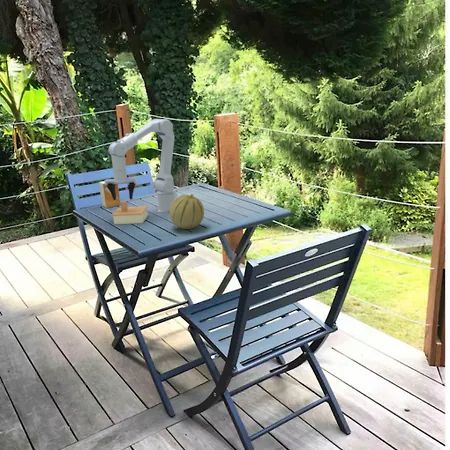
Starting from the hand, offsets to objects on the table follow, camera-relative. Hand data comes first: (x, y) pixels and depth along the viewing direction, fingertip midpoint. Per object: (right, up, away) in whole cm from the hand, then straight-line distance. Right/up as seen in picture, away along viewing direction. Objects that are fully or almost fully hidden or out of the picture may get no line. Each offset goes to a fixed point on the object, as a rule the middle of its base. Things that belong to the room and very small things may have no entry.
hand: (123, 199), depth 212 cm
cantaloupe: (+31, -13, -13) cm, 36 cm away
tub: (+3, -10, +3) cm, 11 cm away
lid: (+3, -6, +2) cm, 7 cm away
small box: (-13, -2, +33) cm, 35 cm away
